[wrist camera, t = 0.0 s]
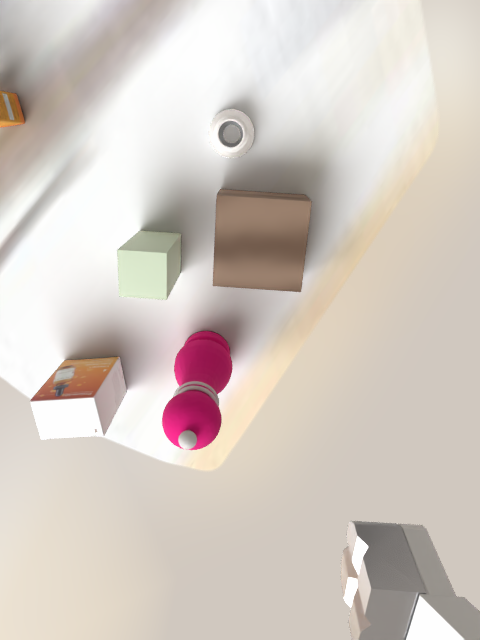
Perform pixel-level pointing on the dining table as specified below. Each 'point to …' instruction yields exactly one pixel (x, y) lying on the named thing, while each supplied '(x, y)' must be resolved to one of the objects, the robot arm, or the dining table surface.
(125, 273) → the sage block
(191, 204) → the dining table surface
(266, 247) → the walnut block
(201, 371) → the pepper mill
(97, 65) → the dining table surface
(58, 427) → the small box
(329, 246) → the dining table surface
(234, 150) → the white hollow cone
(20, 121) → the supplement box
